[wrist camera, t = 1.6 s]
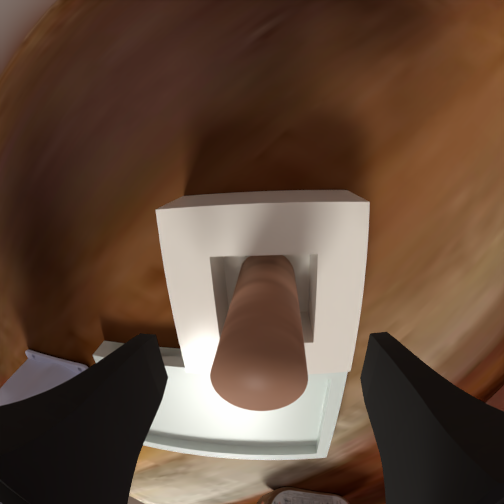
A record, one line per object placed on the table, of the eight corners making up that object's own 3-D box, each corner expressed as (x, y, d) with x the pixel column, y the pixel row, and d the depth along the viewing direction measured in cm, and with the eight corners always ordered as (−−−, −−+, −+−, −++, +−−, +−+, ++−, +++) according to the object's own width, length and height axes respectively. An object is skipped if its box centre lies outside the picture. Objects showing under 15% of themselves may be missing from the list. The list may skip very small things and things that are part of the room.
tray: (144, 430, 24) (138, 444, 22) (104, 340, 20) (92, 355, 18) (324, 441, 22) (326, 457, 20) (343, 348, 18) (348, 366, 16)
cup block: (201, 332, 18) (186, 372, 15) (183, 196, 16) (155, 209, 12) (338, 330, 18) (350, 371, 14) (346, 189, 15) (369, 201, 11)
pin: (241, 300, 16) (217, 409, 9) (237, 251, 15) (203, 343, 8) (294, 300, 16) (304, 410, 8) (294, 249, 15) (311, 342, 7)
